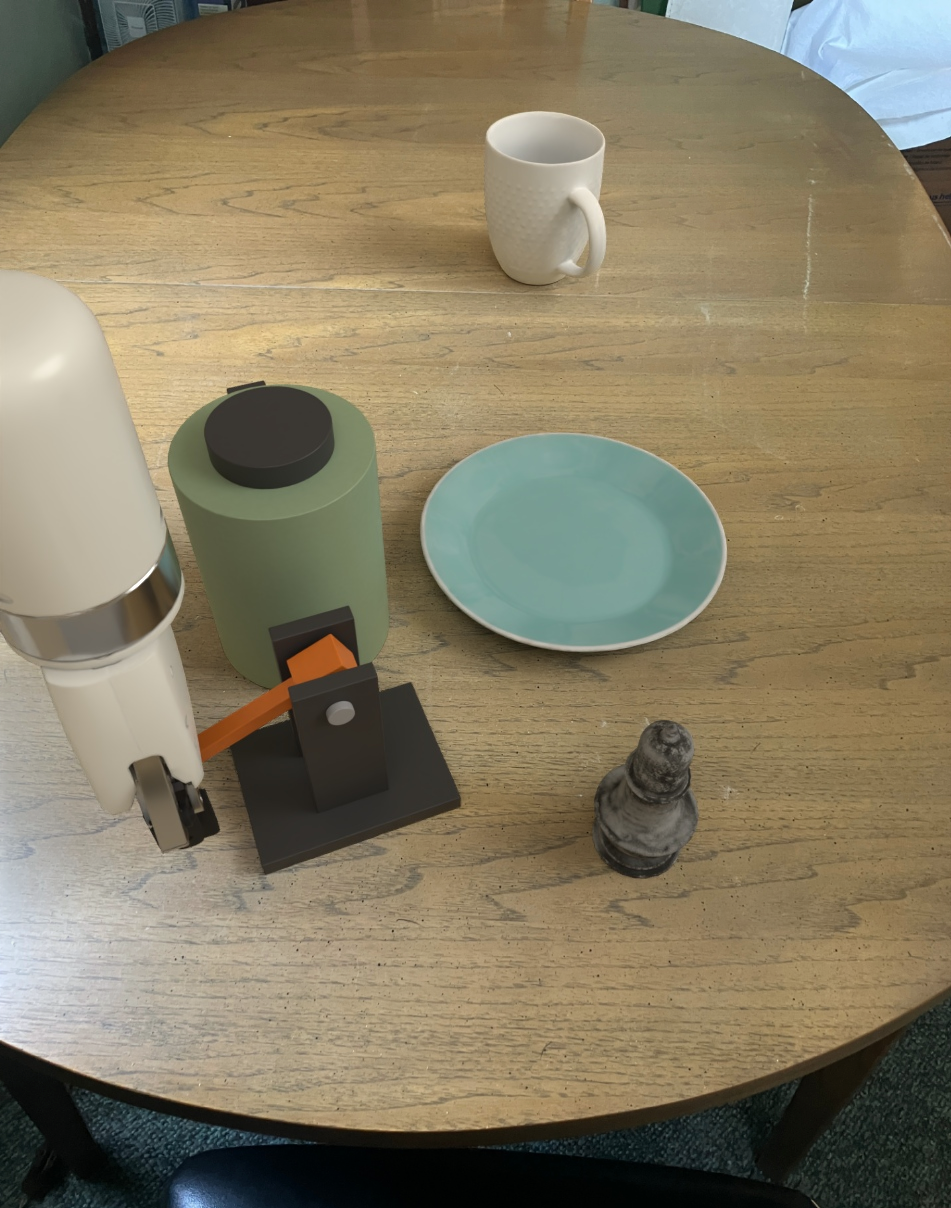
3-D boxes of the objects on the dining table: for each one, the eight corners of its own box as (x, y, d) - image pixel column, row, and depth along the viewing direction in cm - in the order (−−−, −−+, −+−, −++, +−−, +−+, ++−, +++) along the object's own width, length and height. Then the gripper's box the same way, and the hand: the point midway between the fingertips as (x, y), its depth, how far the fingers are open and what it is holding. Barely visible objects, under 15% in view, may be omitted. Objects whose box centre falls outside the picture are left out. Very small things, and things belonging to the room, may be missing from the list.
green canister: (241, 714, 61) (182, 520, 47) (200, 569, 69) (139, 368, 55) (412, 663, 64) (401, 466, 50) (353, 529, 72) (331, 328, 58)
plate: (483, 427, 80) (484, 400, 77) (745, 498, 75) (754, 471, 73) (369, 617, 66) (367, 590, 64) (680, 718, 61) (688, 693, 59)
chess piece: (582, 874, 54) (610, 768, 45) (591, 785, 58) (617, 669, 49) (686, 891, 54) (734, 786, 45) (687, 799, 58) (732, 685, 48)
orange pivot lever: (181, 820, 50) (151, 806, 48) (164, 744, 53) (136, 729, 51) (373, 704, 49) (350, 685, 47) (345, 633, 52) (323, 613, 50)
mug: (636, 296, 93) (659, 163, 83) (546, 330, 89) (558, 195, 79) (547, 229, 101) (557, 100, 91) (460, 258, 97) (461, 126, 87)
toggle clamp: (264, 875, 54) (223, 760, 44) (230, 748, 59) (186, 619, 49) (461, 807, 57) (463, 684, 47) (411, 691, 62) (404, 559, 52)
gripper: (-26, 466, 43) (91, 694, 57) (3, 776, 33) (136, 961, 47) (143, 429, 45) (216, 658, 59) (218, 711, 35) (285, 907, 49)
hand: (180, 791), depth 53 cm, fingers closed on orange pivot lever, 5 cm apart
